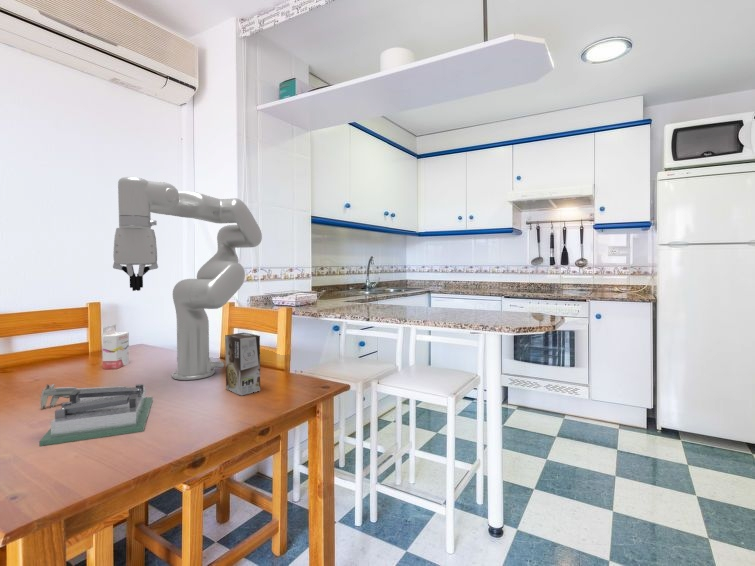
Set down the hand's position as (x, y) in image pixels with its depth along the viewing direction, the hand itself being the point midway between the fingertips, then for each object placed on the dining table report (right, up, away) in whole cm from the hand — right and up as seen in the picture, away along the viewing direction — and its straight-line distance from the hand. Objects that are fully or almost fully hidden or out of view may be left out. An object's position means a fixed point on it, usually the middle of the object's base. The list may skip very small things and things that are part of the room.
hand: (136, 290), depth 112 cm
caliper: (-11, -30, -2) cm, 32 cm away
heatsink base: (+3, -30, -18) cm, 35 cm away
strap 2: (+2, -25, -13) cm, 29 cm away
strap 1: (+4, -26, -22) cm, 34 cm away
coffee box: (+28, -29, +5) cm, 41 cm away
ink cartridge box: (-26, -28, +32) cm, 50 cm away
